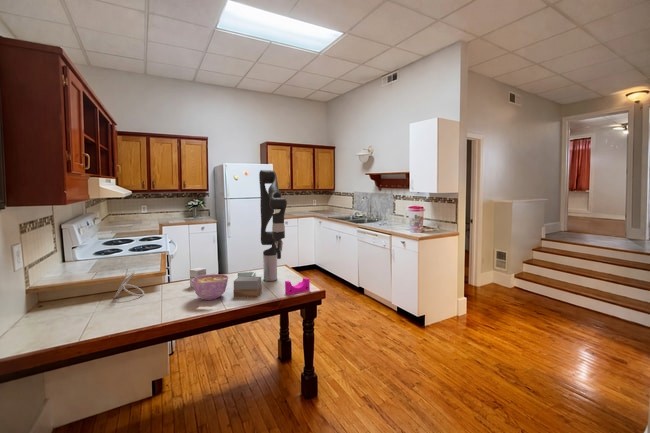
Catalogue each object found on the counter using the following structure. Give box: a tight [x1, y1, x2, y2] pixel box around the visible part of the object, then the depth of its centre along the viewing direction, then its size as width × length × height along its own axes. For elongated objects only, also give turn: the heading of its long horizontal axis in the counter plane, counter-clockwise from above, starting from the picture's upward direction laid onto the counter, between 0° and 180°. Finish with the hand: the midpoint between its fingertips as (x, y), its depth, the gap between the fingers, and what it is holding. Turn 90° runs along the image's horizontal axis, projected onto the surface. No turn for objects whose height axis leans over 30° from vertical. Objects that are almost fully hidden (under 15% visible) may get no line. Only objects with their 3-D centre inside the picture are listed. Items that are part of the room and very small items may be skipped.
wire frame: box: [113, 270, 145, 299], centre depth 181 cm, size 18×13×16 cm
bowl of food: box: [192, 273, 229, 301], centre depth 178 cm, size 20×20×12 cm
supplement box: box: [189, 267, 207, 289], centre depth 199 cm, size 7×7×13 cm
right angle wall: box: [237, 271, 257, 278], centre depth 205 cm, size 12×12×8 cm
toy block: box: [284, 277, 311, 296], centre depth 189 cm, size 15×6×8 cm, turn 123°
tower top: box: [233, 276, 262, 290], centre depth 183 cm, size 10×14×5 cm
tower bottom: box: [232, 284, 263, 298], centre depth 183 cm, size 10×14×5 cm
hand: (279, 258), depth 187 cm, fingers closed
